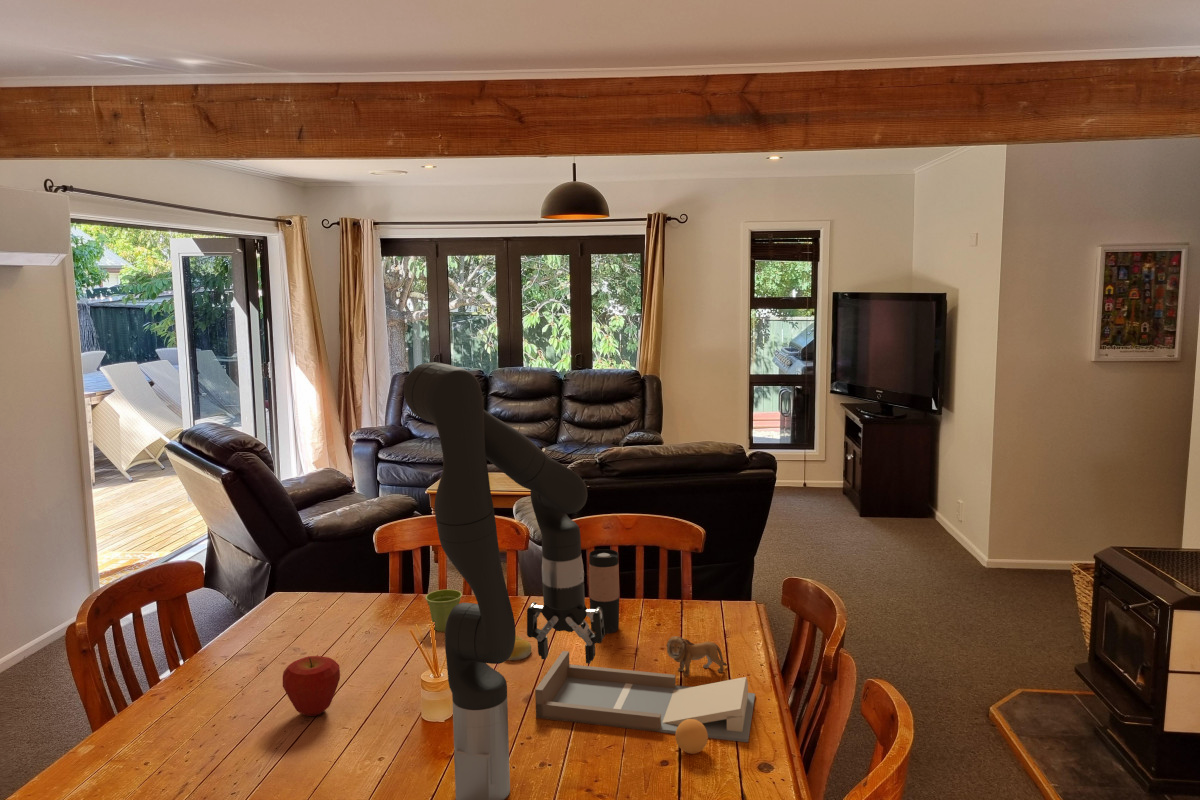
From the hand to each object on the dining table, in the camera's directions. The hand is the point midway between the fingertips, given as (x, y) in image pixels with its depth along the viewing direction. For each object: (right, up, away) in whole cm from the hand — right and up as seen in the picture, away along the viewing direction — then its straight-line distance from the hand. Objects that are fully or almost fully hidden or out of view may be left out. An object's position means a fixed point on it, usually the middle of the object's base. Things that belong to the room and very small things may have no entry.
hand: (567, 659), depth 152 cm
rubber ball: (+23, -15, +1) cm, 27 cm away
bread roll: (-15, -13, +46) cm, 50 cm away
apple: (-53, -17, +18) cm, 58 cm away
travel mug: (+7, -11, +60) cm, 61 cm away
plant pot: (-34, -11, +62) cm, 72 cm away
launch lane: (+16, -16, +18) cm, 29 cm away
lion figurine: (+28, -14, +34) cm, 46 cm away
